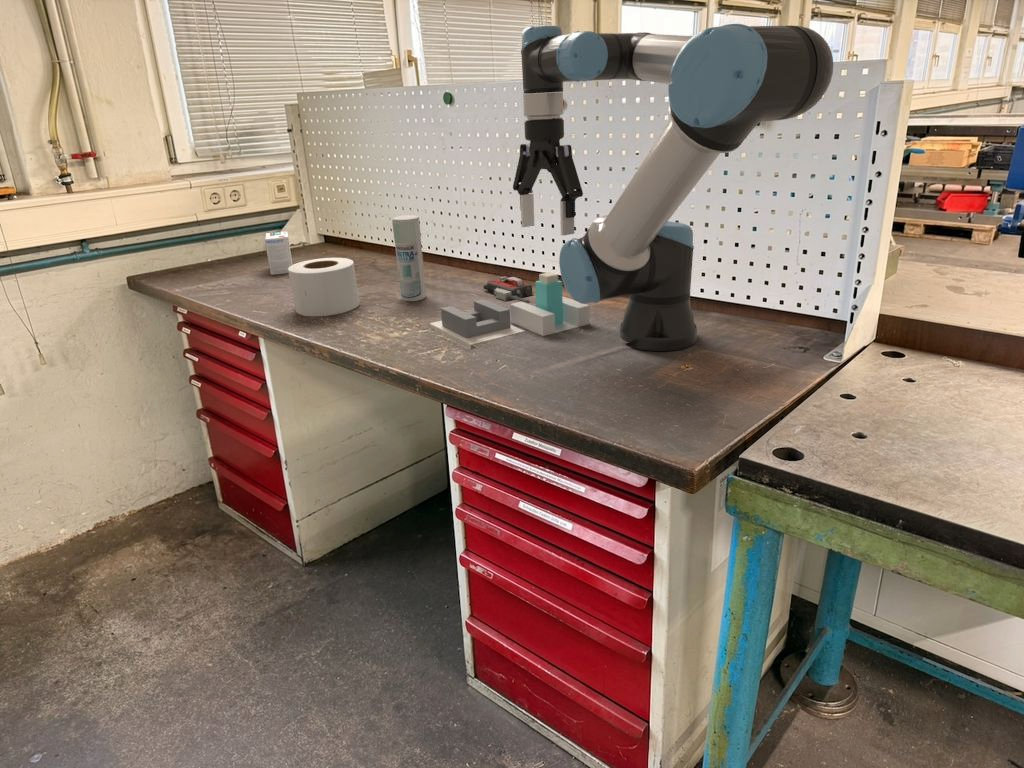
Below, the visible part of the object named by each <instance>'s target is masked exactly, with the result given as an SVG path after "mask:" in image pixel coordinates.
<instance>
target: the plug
mask: <svg viewBox="0 0 1024 768" xmlns="http://www.w3.org/2000/svg"><path fill="white" fill-rule="evenodd" d="M538 276H539V277H538V280H536V281H535V307H538V308H540V309H543V310H546V311H548V312H551V313H554V314H555V325H558V324H562V323H563V297H564V296H563V280H559V274H558V273H555V272H551V271H550V272H545V273H540V274H539V275H538ZM562 296H563V297H562Z"/></svg>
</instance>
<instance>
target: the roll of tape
mask: <svg viewBox="0 0 1024 768" xmlns="http://www.w3.org/2000/svg"><path fill="white" fill-rule="evenodd" d="M288 272H289V273H288V276H289V283H290V287H291V293H292V298H293V303H294V304H293V305H294V309H295V313H296V314H299V315H301V316H303V317H304V316H305V317H327V316H335V315H339V314H344V313H347V312H350V311H353V310H354V309H356V308H358V307H359V306H360V304H361V303H360V296H359V289H358V283H357V277H356V276H357V275H356V269H355V263H354V260H352V259H350V258H347V257H323V258H315V259H308V260H303V261H300V262H297V263H294V264H293V265H292V266H290V267H289V268H288Z"/></svg>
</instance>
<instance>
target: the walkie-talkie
mask: <svg viewBox="0 0 1024 768" xmlns="http://www.w3.org/2000/svg"><path fill="white" fill-rule="evenodd" d="M486 283H487V284H484V285H483V289H484V290H486V291H487V292H488V293H491V294H494V295H495V298H496V299H500V300H502V301H504V302H507V301H518V302H524V303H527V304H530V303H531V302H530V300H527V299H525V298H524V297H530V296H533V285H532V284H529V283H524V280H523V279H522V278H518V277H515V276H510V277H507V275H505V276H501V277H497V278H494V279H489V280H488V281H487V282H486Z"/></svg>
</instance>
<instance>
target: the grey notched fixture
mask: <svg viewBox="0 0 1024 768" xmlns="http://www.w3.org/2000/svg"><path fill="white" fill-rule="evenodd" d="M440 313H441V320H439V321H434V322H430V323H429V328H430V329H431V330H433V331H436V332H437V333H439V334H441V335H443V336H445V337H446V338H449V339H450V340H452V341H455V342H456V343H458V344H460V345H462V346H464V347H466V348H468V349H470V350H475V349H477V347H476V346H474V345H476V344H479V343H483V342H488V341H491V340H495V339H499V338H502V337H506V336H511V335H516V334H518V333H522V332H525V330H524V329H522V328H520V327H517V326H515V325H512V324H511V315H510V308H507V307H504V306H502V305H500V304H498V303H494V302H491V301H490V300H487V299H484V298H481V299H477V300H473V309H472V310H469V311H463V310H461V309H459V308H456V307H454V306H452V305H449V306H444V307H441V308H440Z"/></svg>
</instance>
